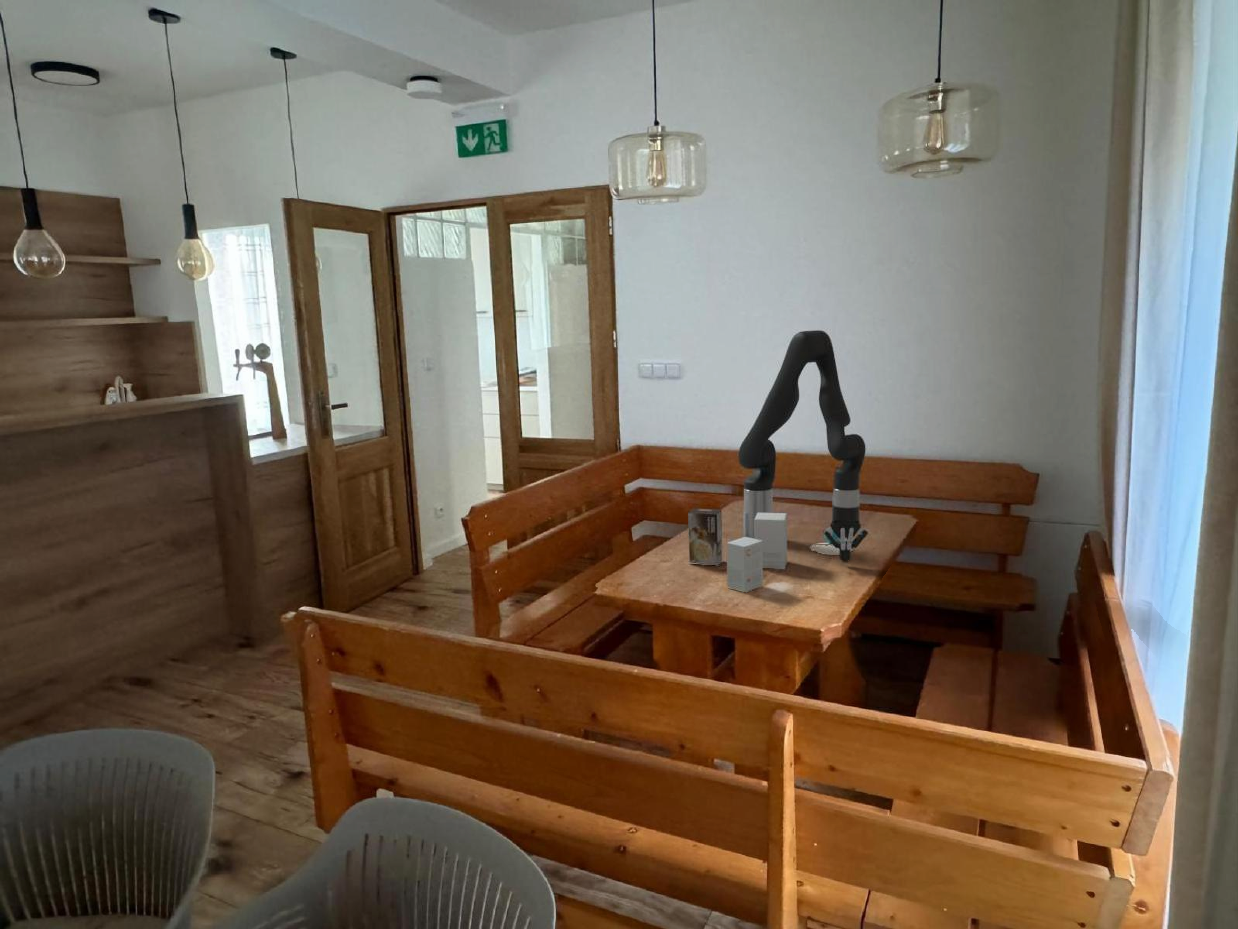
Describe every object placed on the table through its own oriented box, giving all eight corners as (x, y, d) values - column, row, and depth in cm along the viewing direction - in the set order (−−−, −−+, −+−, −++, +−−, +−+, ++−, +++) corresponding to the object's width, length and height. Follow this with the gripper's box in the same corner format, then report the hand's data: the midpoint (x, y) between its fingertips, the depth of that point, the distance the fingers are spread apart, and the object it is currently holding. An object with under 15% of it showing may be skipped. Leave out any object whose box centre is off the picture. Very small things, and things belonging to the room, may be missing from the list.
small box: (745, 581, 227) (744, 536, 225) (763, 586, 223) (763, 540, 221) (726, 588, 222) (726, 542, 220) (744, 593, 217) (744, 546, 215)
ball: (824, 524, 264) (823, 540, 265) (825, 528, 258) (824, 545, 259) (841, 524, 263) (841, 541, 264) (843, 529, 257) (842, 546, 258)
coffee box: (723, 561, 247) (722, 509, 244) (718, 567, 241) (718, 514, 238) (693, 558, 250) (693, 507, 247) (688, 564, 244) (687, 512, 241)
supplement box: (787, 561, 245) (787, 512, 242) (785, 570, 236) (785, 520, 234) (757, 559, 247) (757, 511, 245) (753, 568, 239) (753, 518, 236)
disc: (814, 555, 250) (814, 554, 250) (806, 543, 262) (806, 543, 262) (857, 554, 249) (857, 554, 249) (846, 543, 262) (846, 542, 262)
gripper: (825, 507, 231) (824, 565, 234) (872, 506, 231) (871, 565, 234) (820, 501, 239) (819, 558, 242) (865, 500, 238) (864, 557, 241)
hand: (844, 561), depth 238 cm, fingers closed
